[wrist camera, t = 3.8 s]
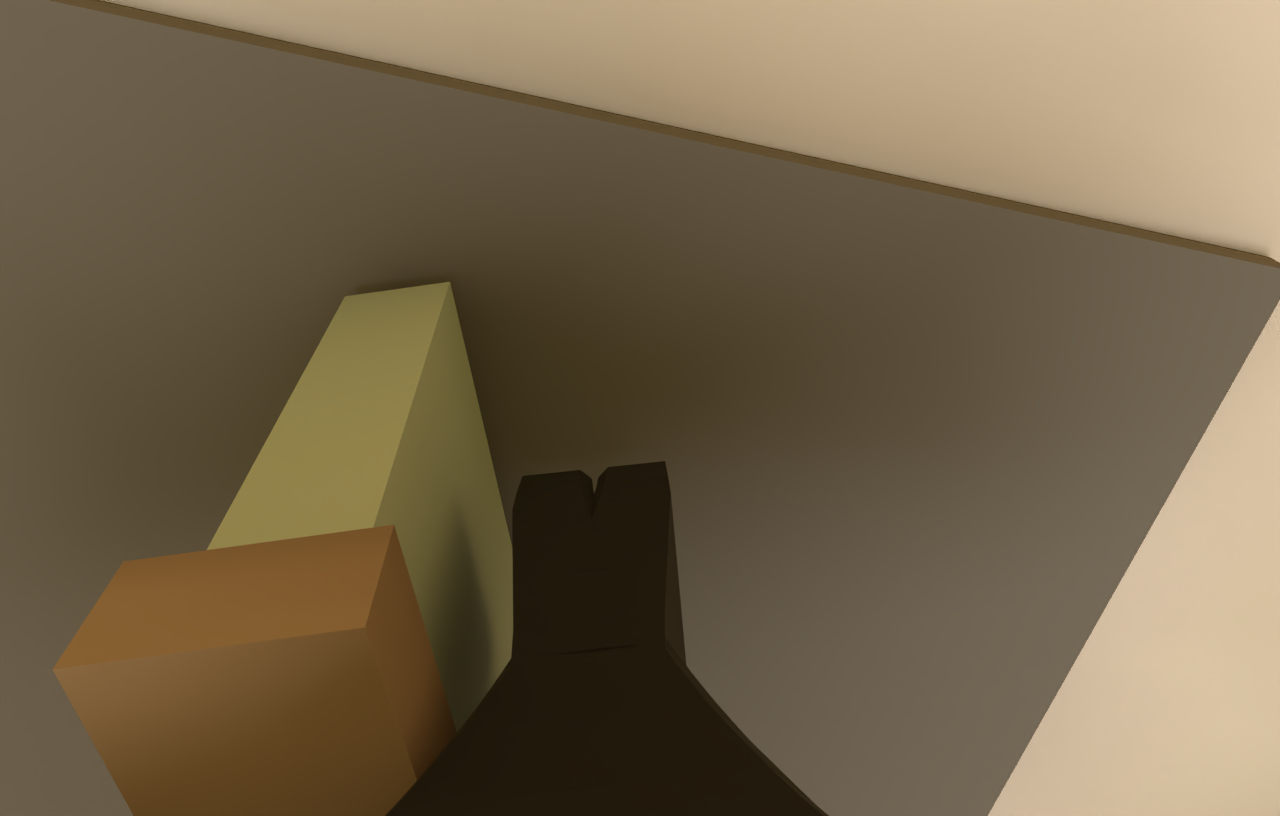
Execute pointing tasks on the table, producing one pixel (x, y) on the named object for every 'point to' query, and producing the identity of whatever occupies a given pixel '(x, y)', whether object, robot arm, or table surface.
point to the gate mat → (595, 376)
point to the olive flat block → (317, 594)
